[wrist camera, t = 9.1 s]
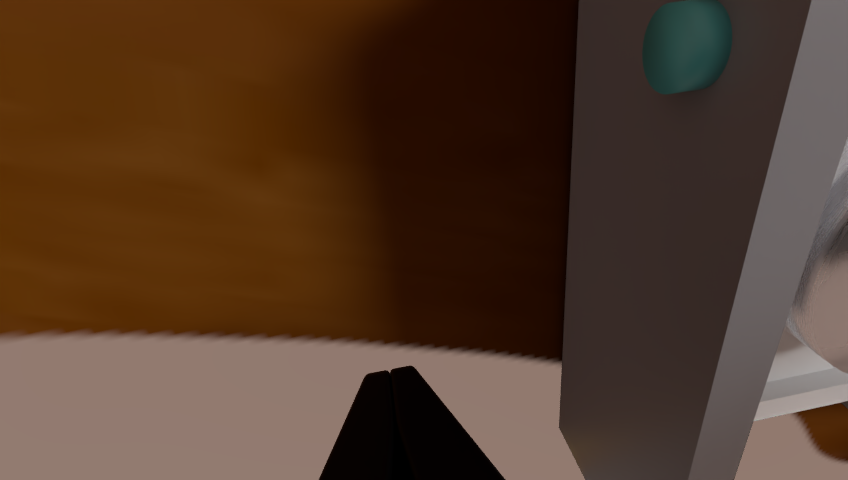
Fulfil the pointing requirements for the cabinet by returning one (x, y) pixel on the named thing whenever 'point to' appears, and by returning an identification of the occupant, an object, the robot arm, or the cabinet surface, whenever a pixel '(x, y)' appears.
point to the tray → (695, 227)
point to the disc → (826, 280)
